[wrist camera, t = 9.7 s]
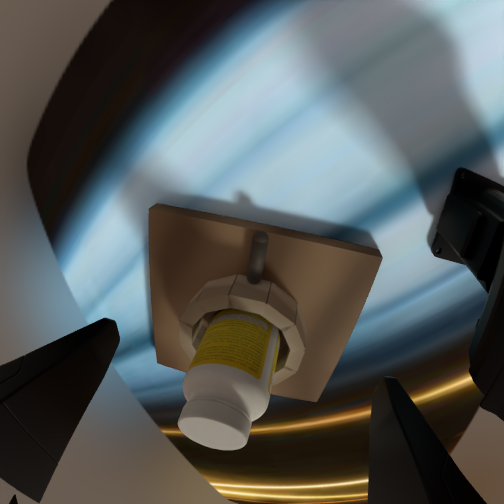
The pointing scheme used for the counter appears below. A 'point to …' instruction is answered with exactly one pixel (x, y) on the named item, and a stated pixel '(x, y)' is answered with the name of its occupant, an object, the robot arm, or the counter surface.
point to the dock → (256, 290)
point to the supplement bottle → (229, 379)
